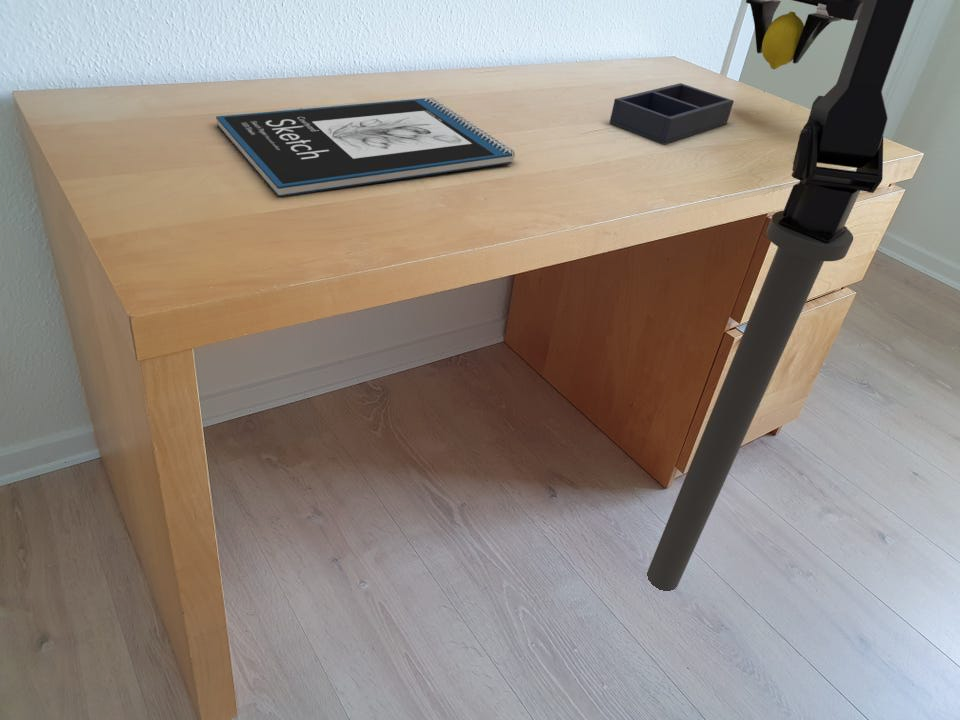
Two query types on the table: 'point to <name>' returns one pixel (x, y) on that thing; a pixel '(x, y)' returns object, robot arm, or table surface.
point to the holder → (670, 112)
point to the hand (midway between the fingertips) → (777, 58)
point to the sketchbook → (359, 144)
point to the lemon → (782, 39)
